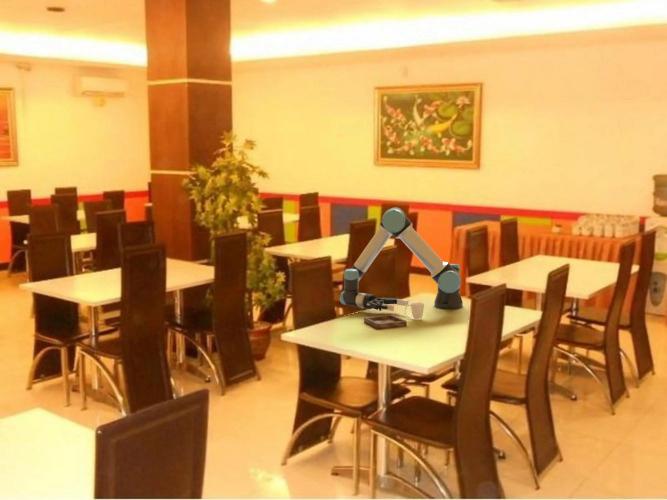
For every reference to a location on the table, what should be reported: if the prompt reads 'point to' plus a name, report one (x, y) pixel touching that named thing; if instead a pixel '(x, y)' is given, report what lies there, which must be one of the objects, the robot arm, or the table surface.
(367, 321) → the tray
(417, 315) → the cup
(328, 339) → the table surface
